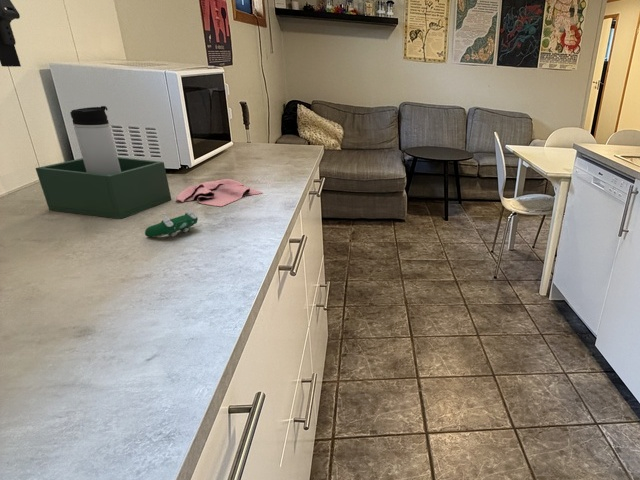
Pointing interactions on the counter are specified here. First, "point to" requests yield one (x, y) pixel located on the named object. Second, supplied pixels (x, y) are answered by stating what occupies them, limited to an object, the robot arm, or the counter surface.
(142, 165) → the tote
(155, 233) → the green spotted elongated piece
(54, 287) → the counter surface
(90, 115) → the travel mug
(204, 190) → the cloth
